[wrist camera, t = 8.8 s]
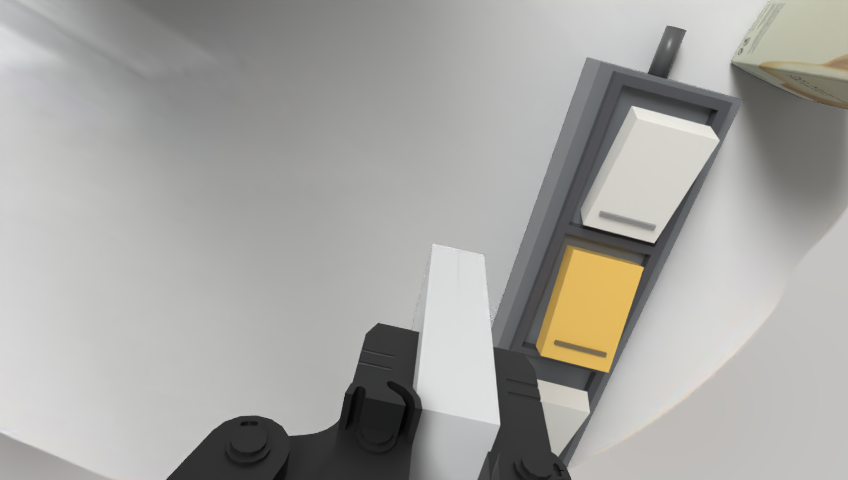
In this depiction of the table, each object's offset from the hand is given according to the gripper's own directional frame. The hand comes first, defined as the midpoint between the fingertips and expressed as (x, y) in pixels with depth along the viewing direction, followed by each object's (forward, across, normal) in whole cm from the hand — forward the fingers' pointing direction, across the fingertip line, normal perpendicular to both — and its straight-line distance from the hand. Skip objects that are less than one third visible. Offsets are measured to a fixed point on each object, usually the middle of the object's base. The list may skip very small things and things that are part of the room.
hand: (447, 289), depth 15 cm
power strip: (+24, +12, -8) cm, 28 cm away
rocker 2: (+19, +12, 0) cm, 23 cm away
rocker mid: (+19, +12, -10) cm, 24 cm away
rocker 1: (+19, +12, -20) cm, 29 cm away
